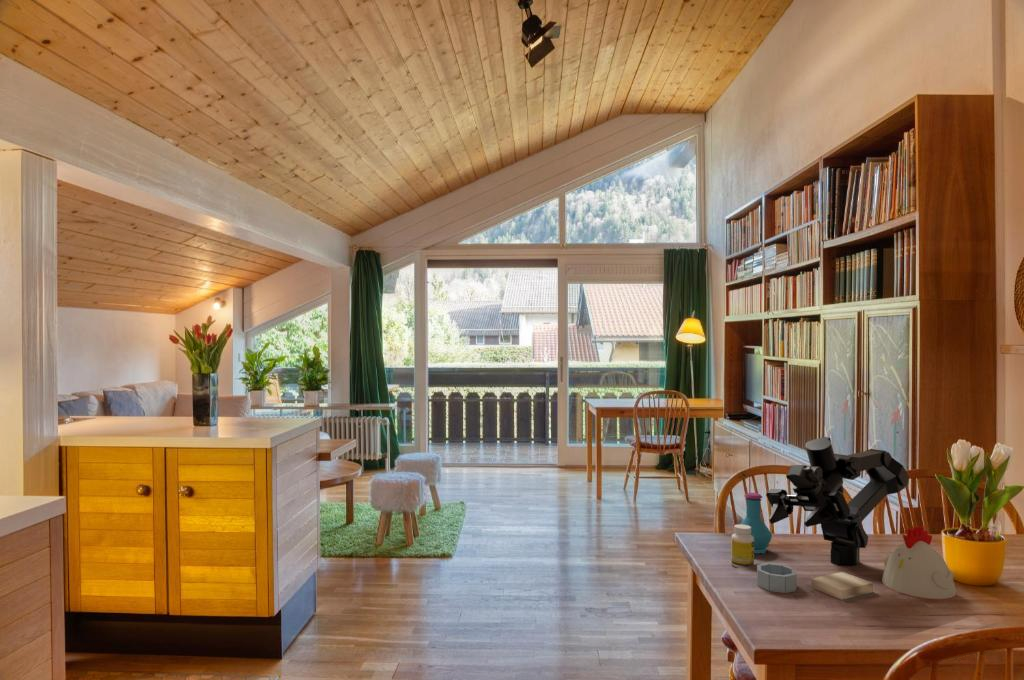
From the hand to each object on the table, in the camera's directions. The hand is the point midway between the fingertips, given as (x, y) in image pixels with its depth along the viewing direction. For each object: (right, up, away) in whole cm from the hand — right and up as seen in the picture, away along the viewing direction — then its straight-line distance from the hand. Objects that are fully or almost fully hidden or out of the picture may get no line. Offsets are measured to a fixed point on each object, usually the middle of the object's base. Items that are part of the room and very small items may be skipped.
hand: (787, 523), depth 143 cm
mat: (+10, -15, -4) cm, 19 cm away
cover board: (+10, -13, -4) cm, 17 cm away
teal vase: (+3, -15, +28) cm, 32 cm away
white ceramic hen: (+28, -15, -2) cm, 32 cm away
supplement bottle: (-4, -15, +16) cm, 22 cm away
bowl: (-3, -15, -1) cm, 15 cm away
